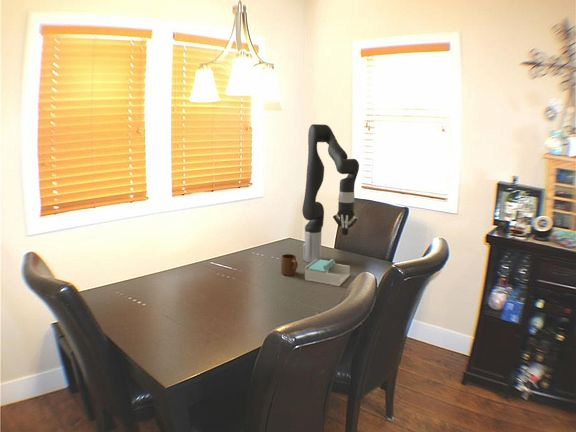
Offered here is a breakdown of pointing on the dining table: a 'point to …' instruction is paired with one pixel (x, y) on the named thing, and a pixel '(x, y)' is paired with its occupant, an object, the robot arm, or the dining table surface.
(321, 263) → the teal lid
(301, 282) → the dining table surface
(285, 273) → the mug
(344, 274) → the grey housing
